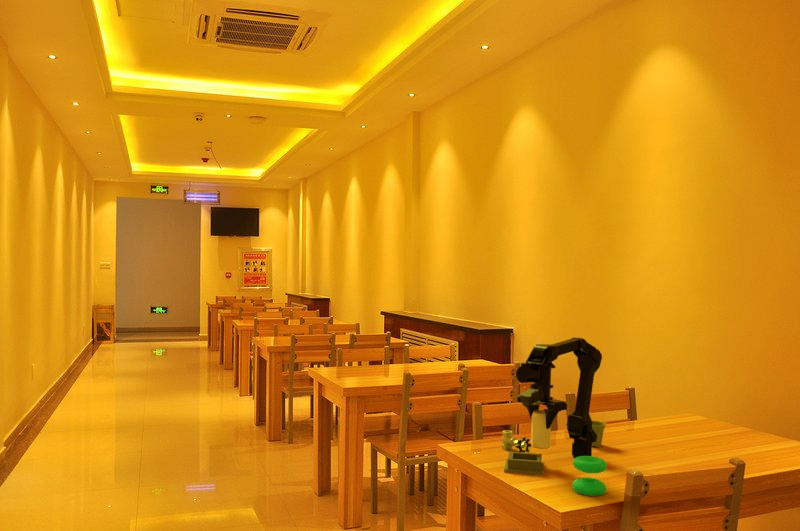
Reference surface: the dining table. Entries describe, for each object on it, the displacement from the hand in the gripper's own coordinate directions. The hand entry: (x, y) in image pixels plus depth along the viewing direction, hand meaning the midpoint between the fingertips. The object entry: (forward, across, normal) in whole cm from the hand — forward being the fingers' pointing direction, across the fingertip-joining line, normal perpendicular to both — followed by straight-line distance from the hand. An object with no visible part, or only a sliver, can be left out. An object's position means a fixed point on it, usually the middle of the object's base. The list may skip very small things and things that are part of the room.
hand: (540, 426), depth 238 cm
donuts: (+14, +28, -7) cm, 32 cm away
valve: (+14, -20, +6) cm, 25 cm away
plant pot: (+13, -12, +41) cm, 44 cm away
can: (+7, 0, 0) cm, 7 cm away
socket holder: (+14, 0, -7) cm, 15 cm away
